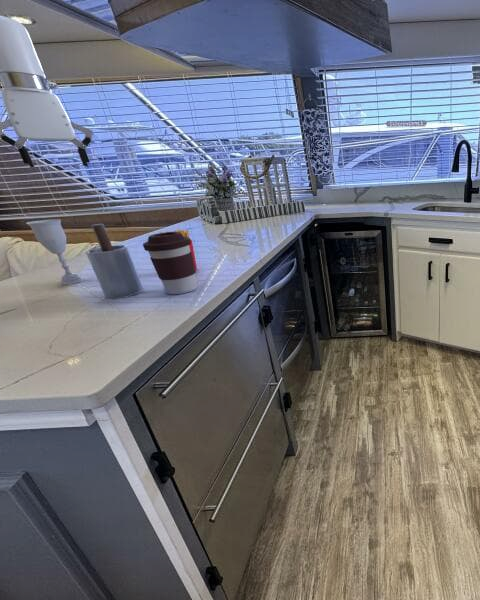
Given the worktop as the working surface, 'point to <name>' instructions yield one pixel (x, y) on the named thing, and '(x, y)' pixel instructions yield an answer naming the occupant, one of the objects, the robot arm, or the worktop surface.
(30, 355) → the worktop surface
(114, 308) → the worktop surface
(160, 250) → the coffee cup
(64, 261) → the chalice
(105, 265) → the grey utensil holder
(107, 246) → the brush
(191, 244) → the french fries
